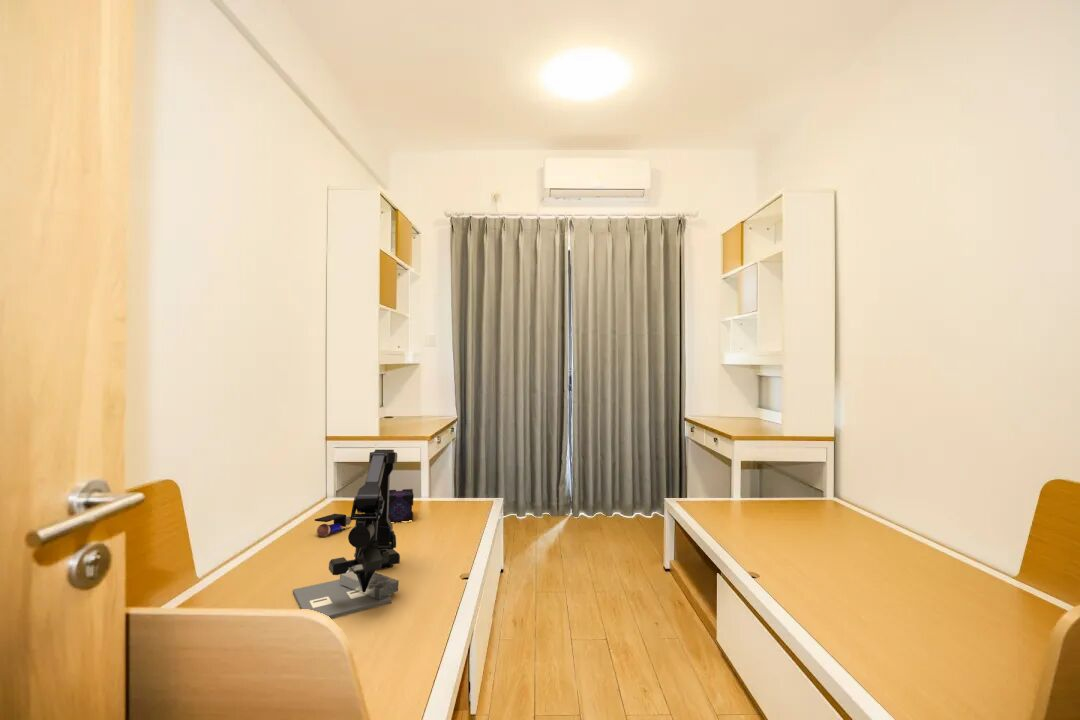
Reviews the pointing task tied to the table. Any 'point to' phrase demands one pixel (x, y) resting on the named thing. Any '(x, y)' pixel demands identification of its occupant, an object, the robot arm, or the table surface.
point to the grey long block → (371, 584)
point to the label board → (335, 599)
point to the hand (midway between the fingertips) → (363, 591)
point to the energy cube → (400, 505)
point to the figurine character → (339, 523)
